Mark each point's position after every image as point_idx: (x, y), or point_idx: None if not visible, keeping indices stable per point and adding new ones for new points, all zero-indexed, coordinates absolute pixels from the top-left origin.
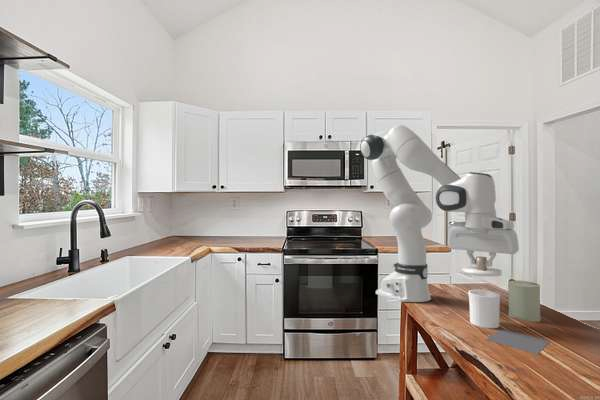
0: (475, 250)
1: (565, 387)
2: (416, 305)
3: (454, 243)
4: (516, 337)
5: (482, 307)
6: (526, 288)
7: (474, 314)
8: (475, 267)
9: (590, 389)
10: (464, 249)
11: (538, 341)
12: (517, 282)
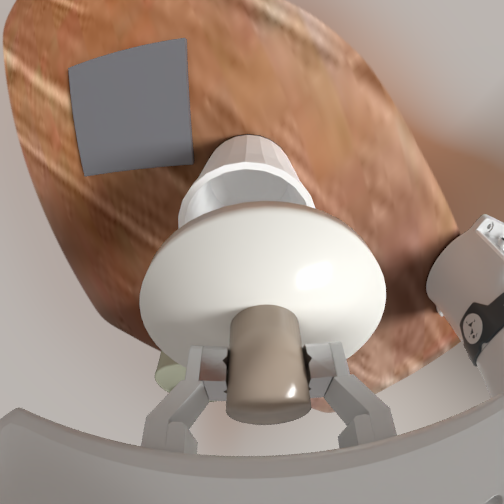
0: (313, 456)
1: (25, 3)
2: (452, 216)
3: (498, 442)
4: (135, 130)
5: (232, 153)
6: (171, 360)
7: (267, 146)
8: None
9: (5, 34)
10: (419, 432)
11: (94, 150)
12: None
